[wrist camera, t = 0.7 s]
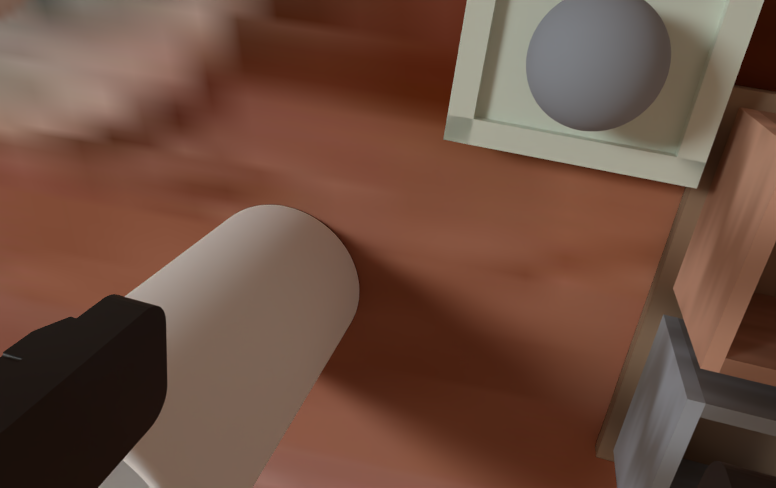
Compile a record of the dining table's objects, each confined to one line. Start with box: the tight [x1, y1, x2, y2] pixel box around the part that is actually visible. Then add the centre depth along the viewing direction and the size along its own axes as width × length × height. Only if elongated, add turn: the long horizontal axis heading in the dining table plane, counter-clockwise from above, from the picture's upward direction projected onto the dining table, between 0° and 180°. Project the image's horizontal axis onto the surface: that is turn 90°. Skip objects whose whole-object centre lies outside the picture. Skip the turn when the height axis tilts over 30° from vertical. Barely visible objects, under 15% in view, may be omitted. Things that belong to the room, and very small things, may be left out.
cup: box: [98, 205, 359, 488], centre depth 25 cm, size 8×8×16 cm
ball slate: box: [526, 0, 671, 131], centre depth 21 cm, size 4×4×4 cm
